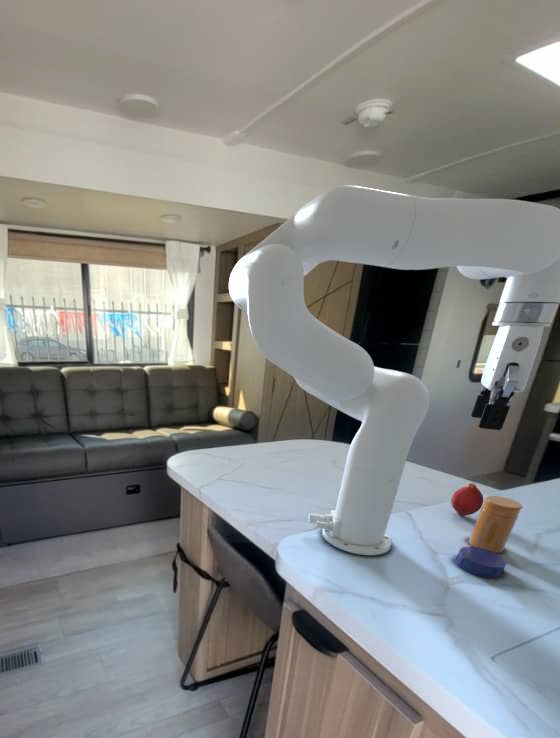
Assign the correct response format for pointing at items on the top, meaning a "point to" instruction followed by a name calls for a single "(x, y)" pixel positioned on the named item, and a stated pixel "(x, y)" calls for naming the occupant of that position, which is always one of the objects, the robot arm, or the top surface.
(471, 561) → the honey lid
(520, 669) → the top surface
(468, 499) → the red pomegranate
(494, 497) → the honey jar
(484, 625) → the top surface
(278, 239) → the robot arm
